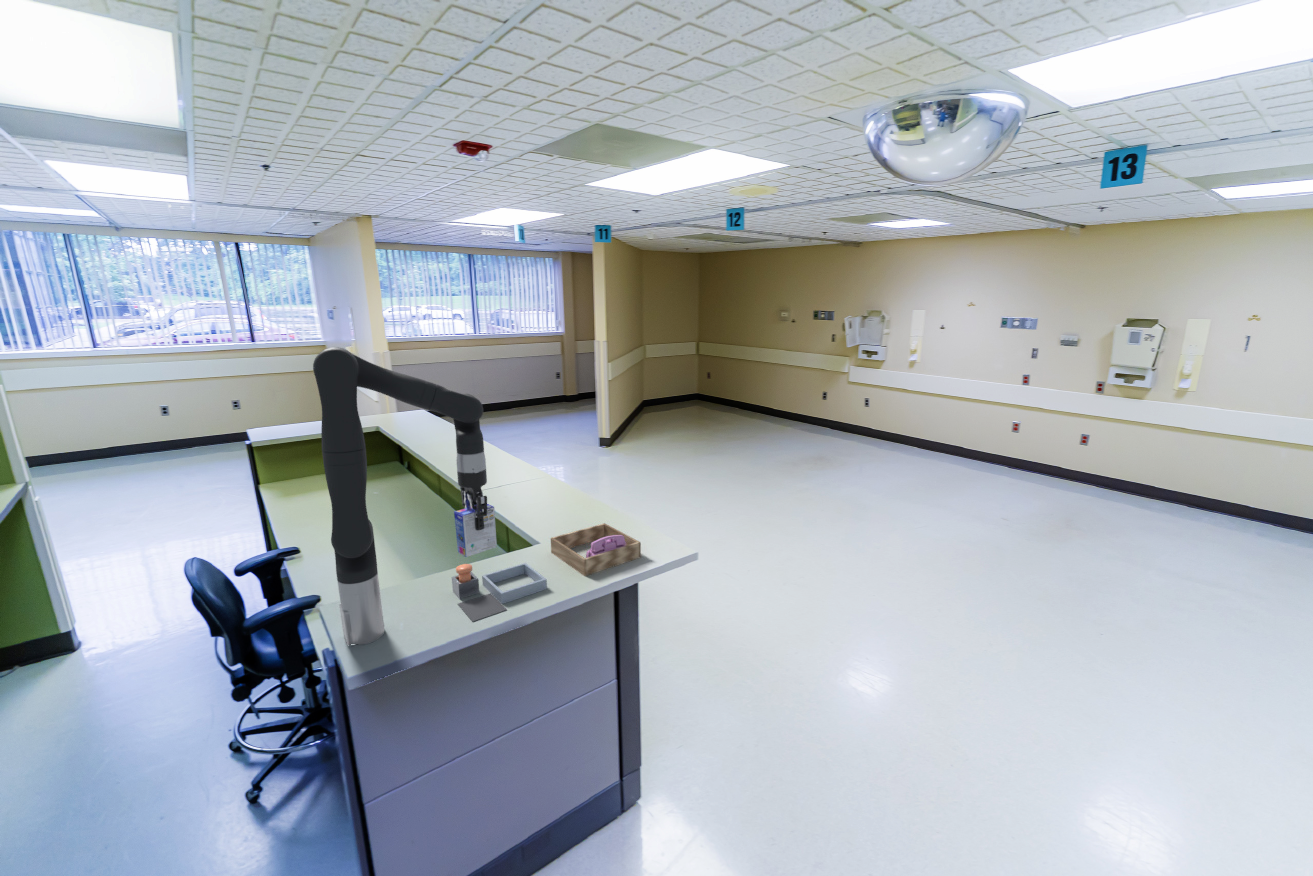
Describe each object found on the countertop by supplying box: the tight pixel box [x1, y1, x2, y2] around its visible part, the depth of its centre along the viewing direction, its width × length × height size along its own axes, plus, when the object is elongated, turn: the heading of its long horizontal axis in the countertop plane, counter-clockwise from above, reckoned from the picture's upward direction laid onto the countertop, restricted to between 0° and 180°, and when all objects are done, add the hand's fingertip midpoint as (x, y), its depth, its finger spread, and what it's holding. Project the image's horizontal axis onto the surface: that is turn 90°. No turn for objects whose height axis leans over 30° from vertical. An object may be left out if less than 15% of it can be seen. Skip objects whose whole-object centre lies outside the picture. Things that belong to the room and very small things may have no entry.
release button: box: [455, 563, 473, 583], centre depth 168 cm, size 5×5×8 cm
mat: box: [457, 592, 508, 623], centre depth 160 cm, size 10×12×1 cm
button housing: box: [451, 571, 480, 600], centre depth 168 cm, size 6×6×5 cm
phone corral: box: [550, 523, 642, 577], centre depth 194 cm, size 23×23×6 cm
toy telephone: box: [585, 535, 626, 558], centre depth 187 cm, size 18×6×10 cm, turn 125°
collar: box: [481, 562, 548, 605], centre depth 172 cm, size 15×15×4 cm
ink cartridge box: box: [453, 500, 498, 558], centre depth 155 cm, size 10×6×14 cm, turn 138°
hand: (475, 525), depth 155 cm, fingers closed on ink cartridge box, 5 cm apart
